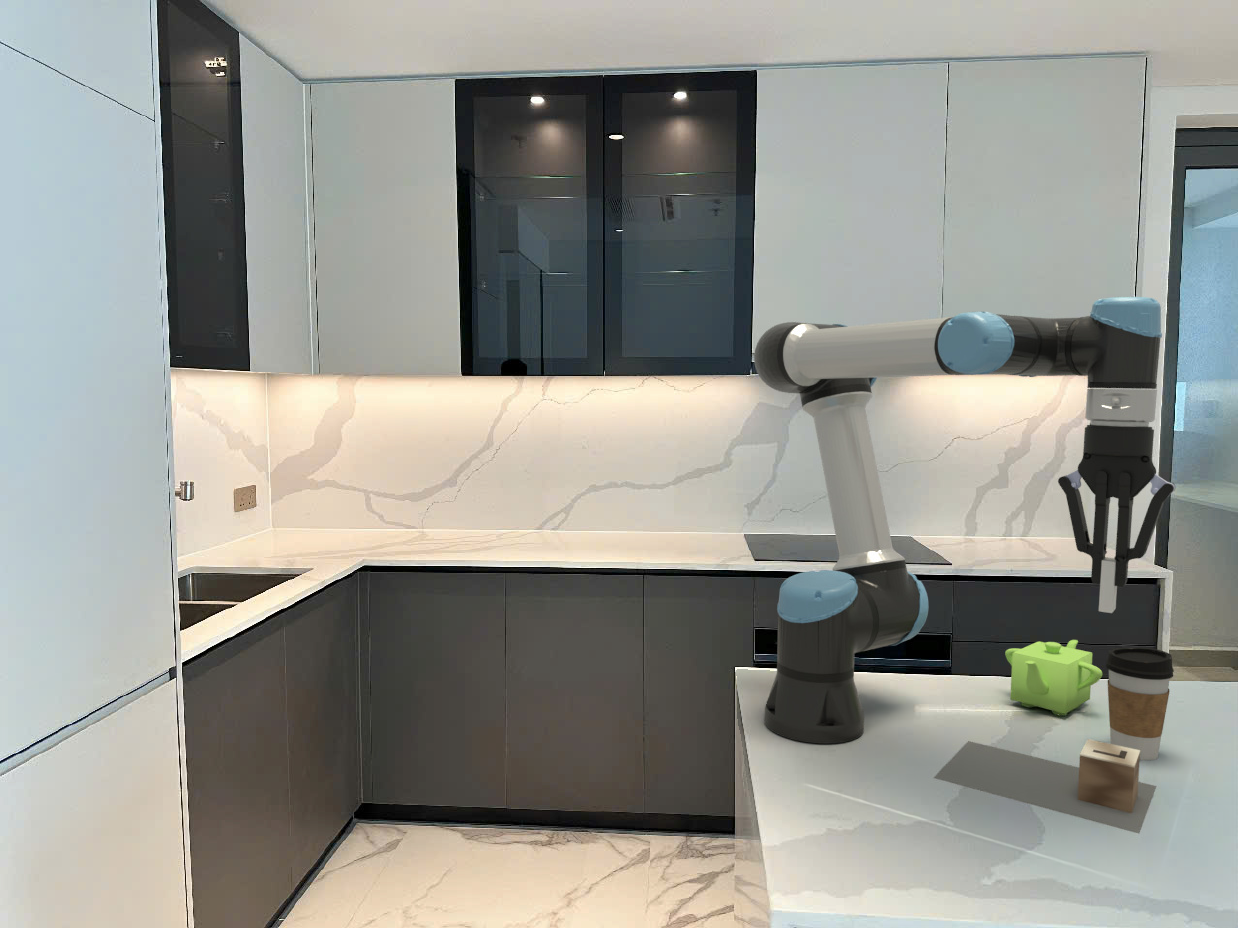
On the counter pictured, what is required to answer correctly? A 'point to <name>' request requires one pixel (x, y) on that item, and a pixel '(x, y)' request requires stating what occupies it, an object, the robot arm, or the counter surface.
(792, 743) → the counter surface
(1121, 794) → the walnut cube
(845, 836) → the counter surface
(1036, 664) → the teapot
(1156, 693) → the coffee cup
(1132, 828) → the rubber mat
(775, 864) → the counter surface
